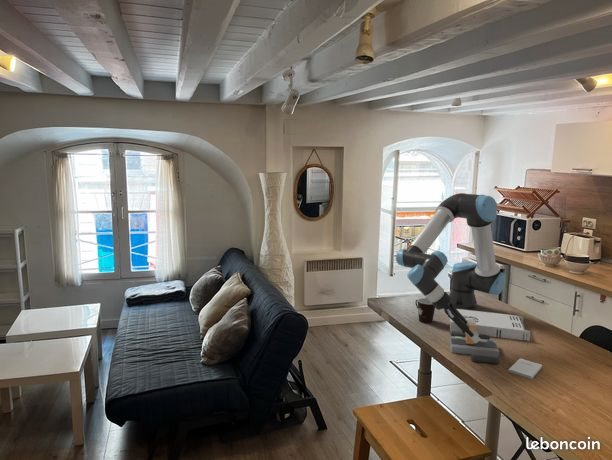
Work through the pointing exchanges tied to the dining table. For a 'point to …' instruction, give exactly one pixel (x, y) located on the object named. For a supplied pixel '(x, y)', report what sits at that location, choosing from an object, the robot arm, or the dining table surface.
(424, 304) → the coffee mug
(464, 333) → the dark grey rounded rod
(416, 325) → the dining table surface
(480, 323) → the power supply unit
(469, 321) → the block
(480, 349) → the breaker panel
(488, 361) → the dark grey capsule rod
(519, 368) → the external hard drive
